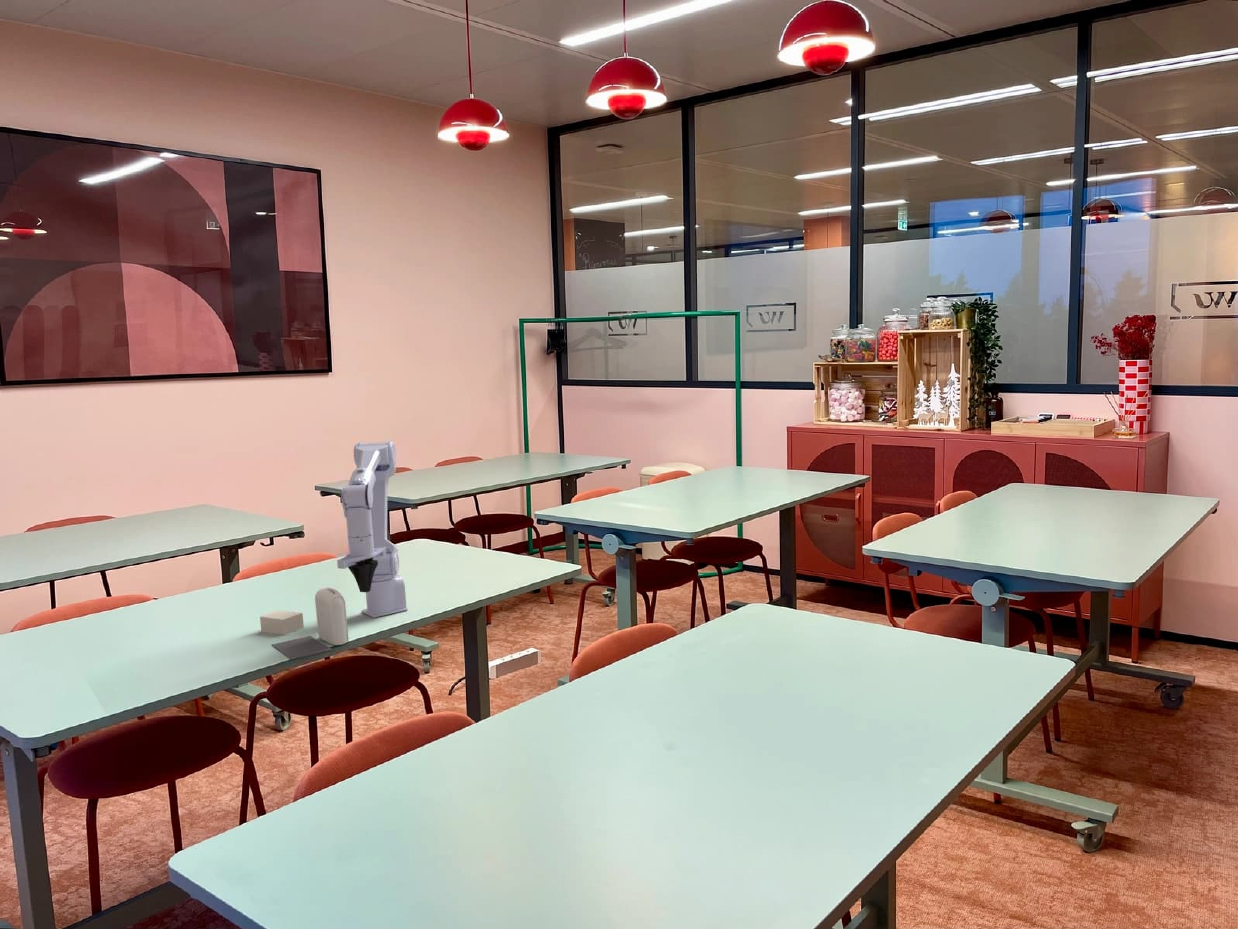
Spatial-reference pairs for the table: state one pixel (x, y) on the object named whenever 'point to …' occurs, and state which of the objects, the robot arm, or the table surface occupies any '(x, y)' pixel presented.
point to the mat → (301, 647)
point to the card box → (281, 622)
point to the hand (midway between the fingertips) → (365, 591)
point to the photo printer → (331, 616)
